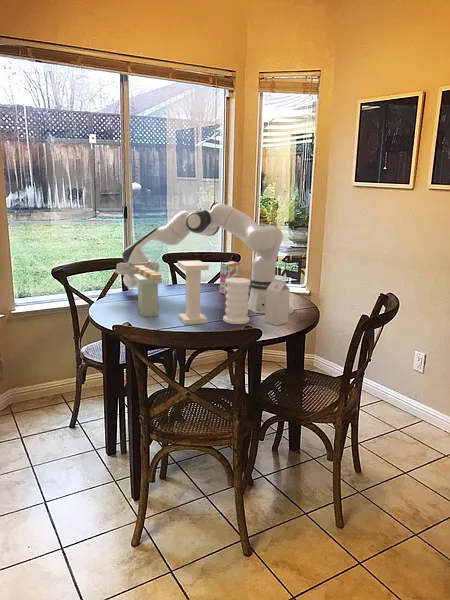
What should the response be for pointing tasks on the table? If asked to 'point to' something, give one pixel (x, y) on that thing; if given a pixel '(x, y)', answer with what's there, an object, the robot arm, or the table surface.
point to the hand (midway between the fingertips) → (140, 262)
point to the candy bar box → (227, 274)
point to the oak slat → (147, 272)
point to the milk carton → (277, 302)
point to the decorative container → (237, 300)
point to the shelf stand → (192, 292)
